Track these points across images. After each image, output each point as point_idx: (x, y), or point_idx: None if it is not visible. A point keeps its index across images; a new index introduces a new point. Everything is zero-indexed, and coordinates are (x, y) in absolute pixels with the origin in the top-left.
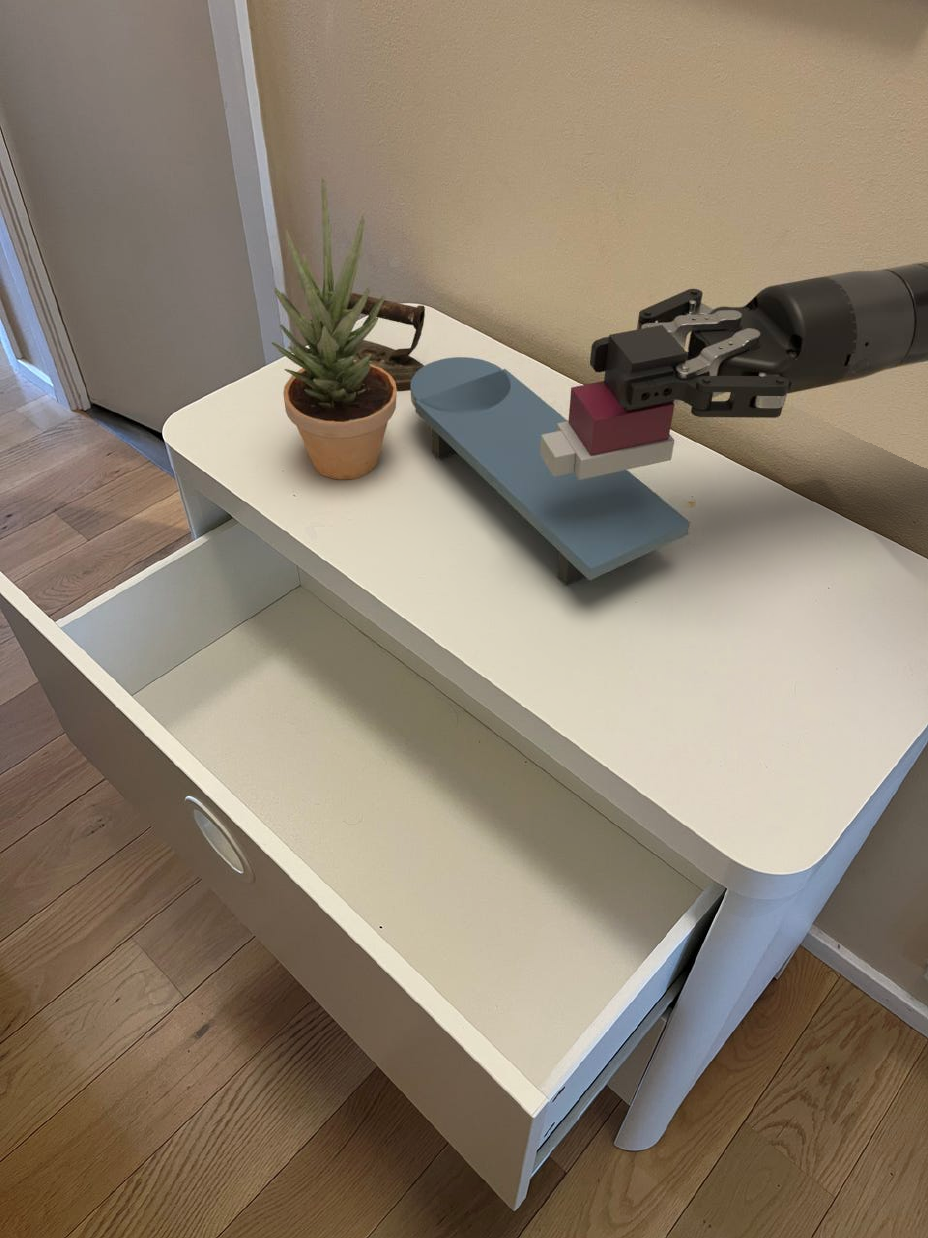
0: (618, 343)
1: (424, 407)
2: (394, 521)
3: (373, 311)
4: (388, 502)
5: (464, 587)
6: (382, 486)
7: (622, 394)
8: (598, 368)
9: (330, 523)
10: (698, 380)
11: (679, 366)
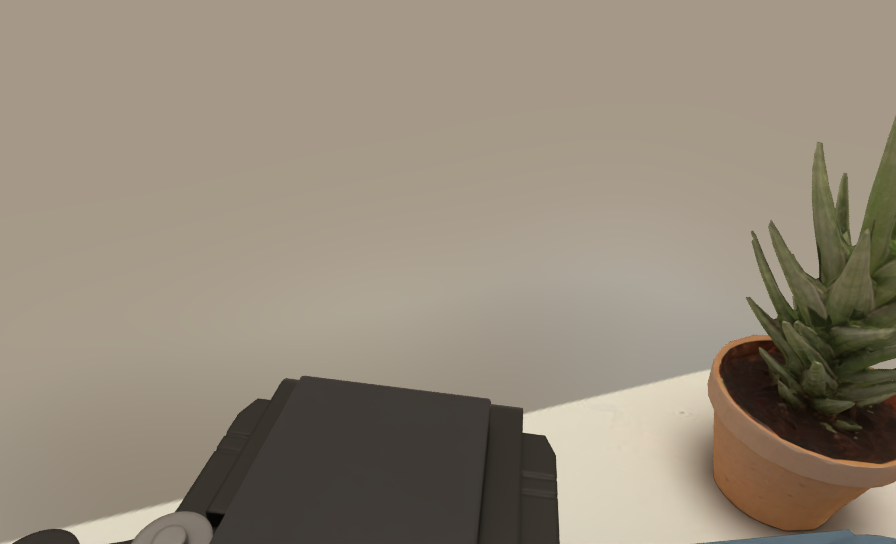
0: (425, 394)
1: (825, 535)
2: (603, 491)
3: None
4: (649, 500)
5: None
6: (691, 506)
7: None
8: None
9: (616, 427)
10: (66, 536)
11: (199, 533)
